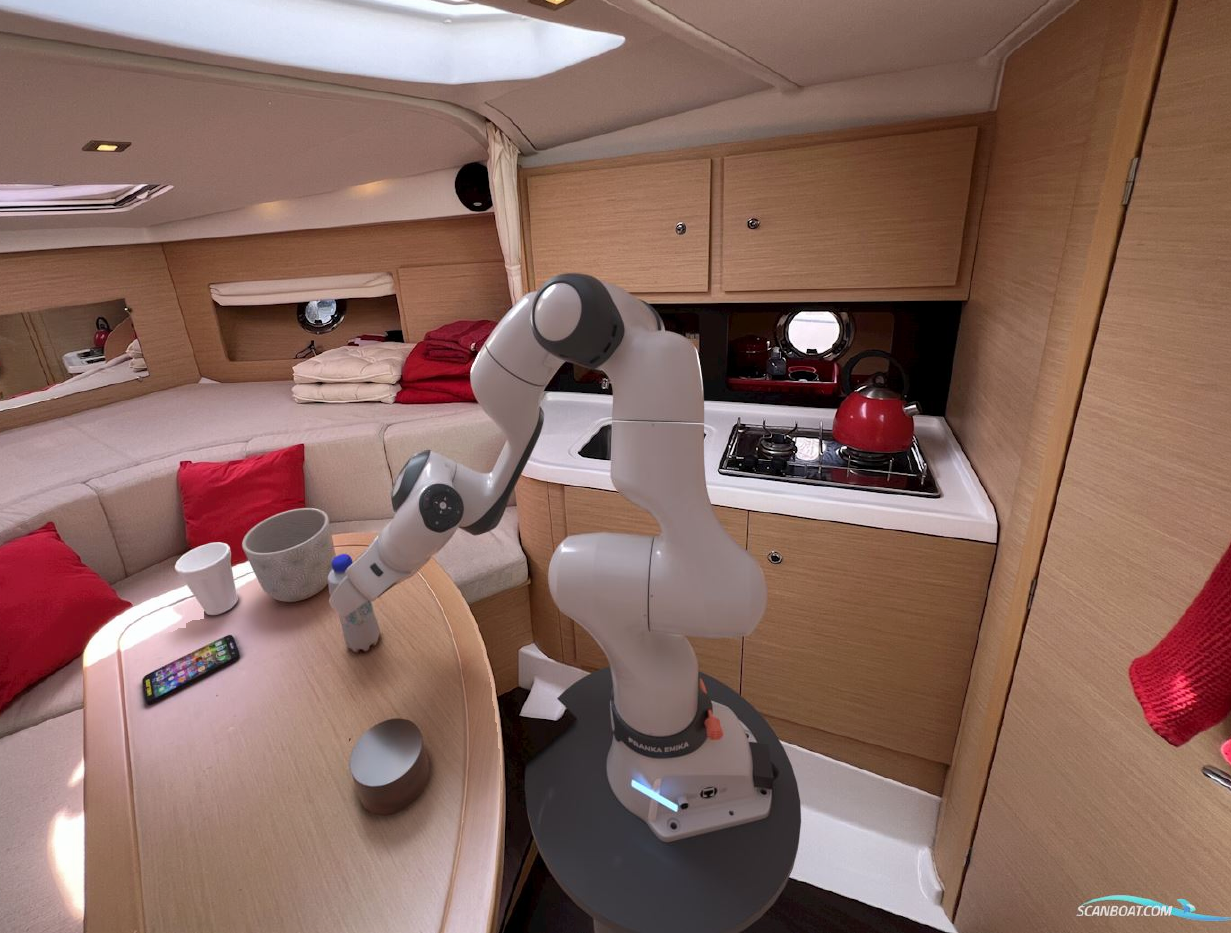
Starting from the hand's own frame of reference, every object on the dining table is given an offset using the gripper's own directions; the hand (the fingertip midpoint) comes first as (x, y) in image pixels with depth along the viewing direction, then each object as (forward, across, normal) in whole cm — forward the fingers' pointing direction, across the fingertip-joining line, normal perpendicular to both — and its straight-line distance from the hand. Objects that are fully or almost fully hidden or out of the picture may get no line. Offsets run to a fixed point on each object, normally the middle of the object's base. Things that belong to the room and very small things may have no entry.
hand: (369, 582), depth 96 cm
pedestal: (-3, +18, +24) cm, 30 cm away
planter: (+33, -6, -10) cm, 35 cm away
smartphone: (+33, +19, -11) cm, 39 cm away
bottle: (+15, +1, +8) cm, 17 cm away
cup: (+41, +6, -19) cm, 46 cm away
